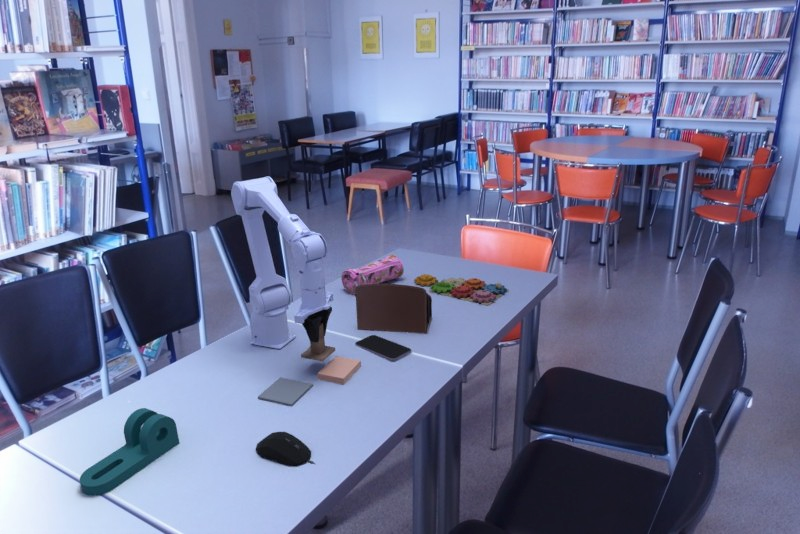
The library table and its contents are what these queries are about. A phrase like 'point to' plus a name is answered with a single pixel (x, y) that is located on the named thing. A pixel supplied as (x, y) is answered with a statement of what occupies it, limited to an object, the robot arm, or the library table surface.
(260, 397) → the mat
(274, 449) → the gaming mouse
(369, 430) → the library table surface
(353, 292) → the pencil case
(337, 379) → the tile
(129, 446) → the bracket
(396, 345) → the smartphone
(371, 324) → the letter holder
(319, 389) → the library table surface
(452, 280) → the gear puzzle
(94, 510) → the library table surface
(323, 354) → the stamp
